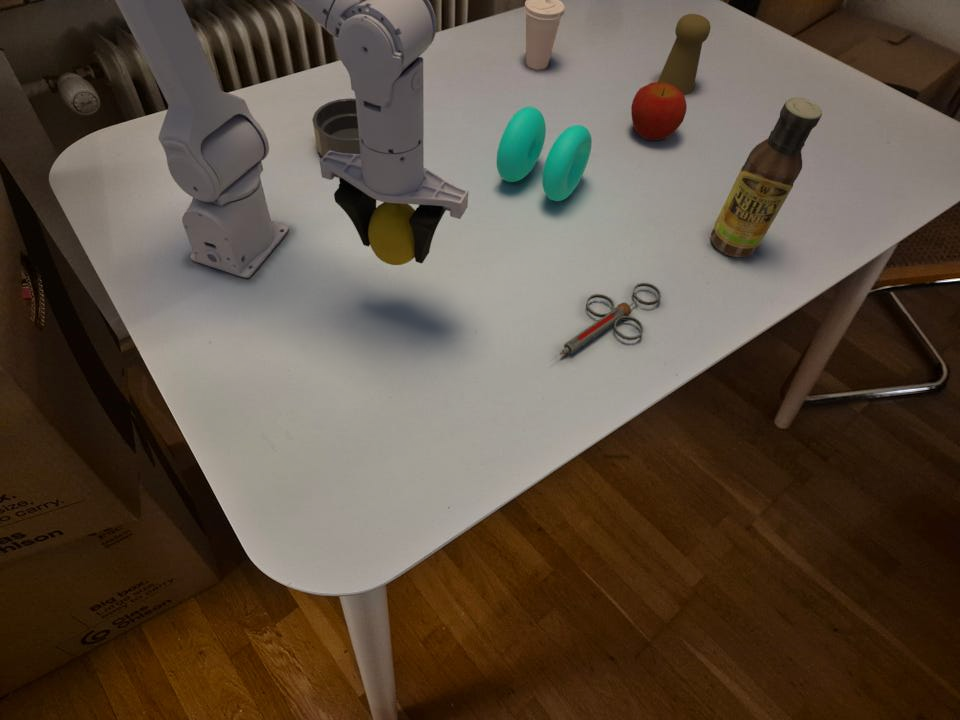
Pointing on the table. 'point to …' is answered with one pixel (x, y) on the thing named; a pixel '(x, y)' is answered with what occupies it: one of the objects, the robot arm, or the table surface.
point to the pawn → (685, 53)
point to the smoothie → (541, 30)
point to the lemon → (392, 233)
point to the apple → (658, 110)
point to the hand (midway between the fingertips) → (396, 248)
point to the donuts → (525, 148)
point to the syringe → (608, 320)
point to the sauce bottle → (765, 181)
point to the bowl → (337, 127)
